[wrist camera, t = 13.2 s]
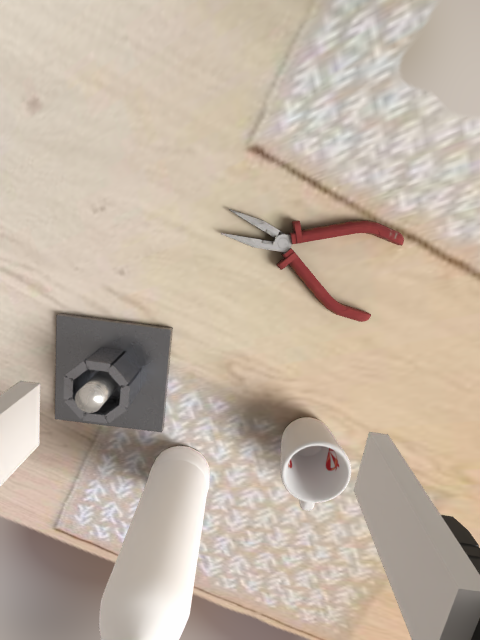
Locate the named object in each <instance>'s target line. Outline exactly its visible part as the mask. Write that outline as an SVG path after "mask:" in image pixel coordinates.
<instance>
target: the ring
mask: <svg viewBox="0 0 480 640" xmlns="http://www.w3.org/2000/svg"><path fill="white" fill-rule="evenodd" d="M140 368H141V367H140V366H139V365H138V364H137V363H136V361H135V360H134V359H133V358H132V357H131V356H130V354H129V353H128V352H127V351H126V352H125V353H124V350H121V349H114V348H107V347H102V348H99V349H98V350H96V351H95V352H94V353H92V354H91V355H90V356H89V357H87V358H86V359H85V360H83V361H82V362H81V363H80V364H78V365H77V366H76V367H75V368H73V369H72V370H71V371H70V372H68V373H67V374H66V376H65V377H64V399H66V401H65V403H66V404H67V405H68V406H69V407H70V408H71V409H72V410H73V411H74V413H75V414H76V415H77V416H78V417H79V418H80V419H81V418H83V421H91V422H98V423H106V424H107V422H109V423H110V422H111V421H113V420H114V419H115V418H117V417H118V416H120V415H121V414H122V413H124V412H125V411H126V410H127V409H128V408H129V406H130V405H131V403H132V402H133V400H134V399H135V397H136V396H137V394H138V393H139V391H140V384H141V372H142V370H139V369H140ZM91 370H97V371H105V372H108V373H109V374H110V375H111V376H112V377H113V378H114V380H115V381H116V382H117V383H118V384H119V385H120V386H121V392H120V397H116V396H110V397H109V398H108V399H107V401H106V402H105V403H104V404H103V405H102V407H101V408H100V409H99V410H98V411H96V412H93V413H87V412H84V411H82V410H81V409H80V408H79V407H78V406H77V405H76V402H75V396H76V393H77V392H78V391H79V390H80V389H81V388H82V387H83V386H84V385H85V384H86V383H87V382H88V381H89V380H90V371H91Z"/></svg>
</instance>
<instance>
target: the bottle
mask: <svg viewBox="0 0 480 640" xmlns="http://www.w3.org/2000/svg"><path fill="white" fill-rule="evenodd" d="M209 476H210V472H209V465H208V463H207V460H206V458H205V457H204V456H203V455H202V454H201V453H200V452H199V451H197V450H195V449H193V448H191V447H186V446H175V447H170V448H168V449H166V450H164V451H162V452H161V453H160V455H159V456H158V457H157V458H156V460H155V463H154V464H153V466H152V468H151V471H150V474H149V477H148V480H147V483H146V486H145V488H144V491H143V493H142V496H141V498H140V501H139V504H138V506H137V509H136V511H135V514H134V516H133V519H132V522H131V524H130V527H129V529H128V532H127V534H126V537H125V540H124V542H123V545H122V547H121V550H120V552H119V555H118V557H117V560H116V563H115V565H114V568H113V571H112V573H111V575H110V578H109V581H108V583H107V586H106V588H105V591H104V594H103V597H102V600H101V604H100V621H99V623H100V624H99V629H100V637H101V640H179V638H180V636H181V634H182V632H183V630H184V627H185V625H186V622H187V620H188V617H189V614H190V607H191V600H192V594H193V587H194V580H195V573H196V566H197V559H198V552H199V545H200V538H201V531H202V525H203V518H204V511H205V504H206V497H207V491H208V488H209Z"/></svg>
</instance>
